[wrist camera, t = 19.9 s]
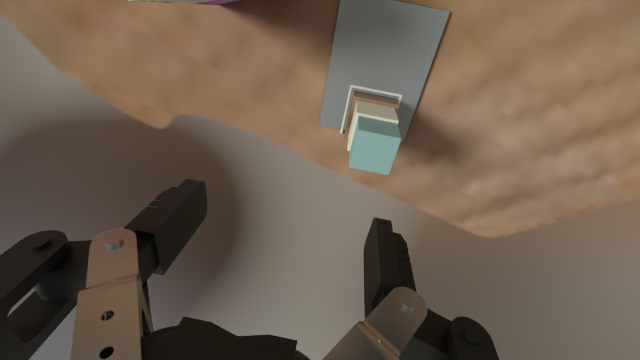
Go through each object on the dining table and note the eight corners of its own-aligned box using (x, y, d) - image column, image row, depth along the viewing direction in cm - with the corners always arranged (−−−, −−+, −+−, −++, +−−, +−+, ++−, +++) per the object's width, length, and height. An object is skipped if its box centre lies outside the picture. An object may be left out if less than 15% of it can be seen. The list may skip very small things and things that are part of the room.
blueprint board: (342, -10, 33) (341, -10, 33) (449, 11, 33) (450, 11, 33) (318, 127, 43) (318, 128, 42) (401, 144, 42) (402, 145, 42)
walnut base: (353, 90, 39) (353, 95, 36) (396, 98, 39) (398, 105, 36) (344, 130, 42) (344, 137, 39) (384, 137, 42) (385, 146, 39)
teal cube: (358, 115, 32) (358, 129, 28) (396, 123, 32) (401, 138, 28) (349, 149, 35) (348, 167, 31) (385, 157, 35) (388, 175, 31)
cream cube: (356, 100, 36) (356, 112, 32) (394, 107, 36) (398, 120, 32) (348, 135, 39) (347, 150, 35) (383, 142, 39) (386, 158, 35)
